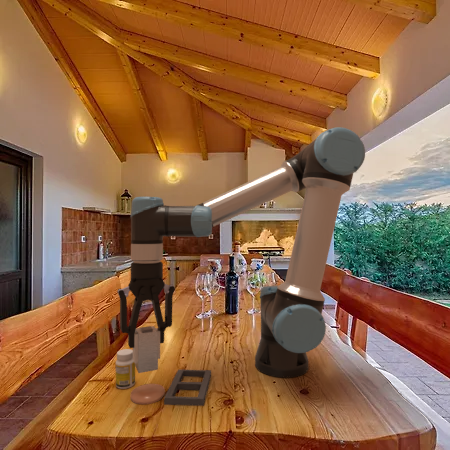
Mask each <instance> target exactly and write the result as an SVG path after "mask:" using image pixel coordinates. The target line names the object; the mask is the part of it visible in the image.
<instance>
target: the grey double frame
mask: <svg viewBox="0 0 450 450" xmlns="http://www.w3.org/2000/svg"><path fill="white" fill-rule="evenodd" d="M185 377H188V378H189V377H193V378H202V381H183V378H185ZM211 378H212V370H211V369H209V370H208V369H178V370H177V371H176V374H175V375H174V377H173V380H172V382H171V383H170V385H169V387H168V389H167V391H166V392H165V395H164V397H163V402H164V406H165V405H170V406H171V405H173V406H200V407H204V405H205V401H206V398H207V395H208V389H209V387H210V382H211ZM178 390H180V391H198V394H197V396H176V394H177V392H178Z"/></svg>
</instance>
